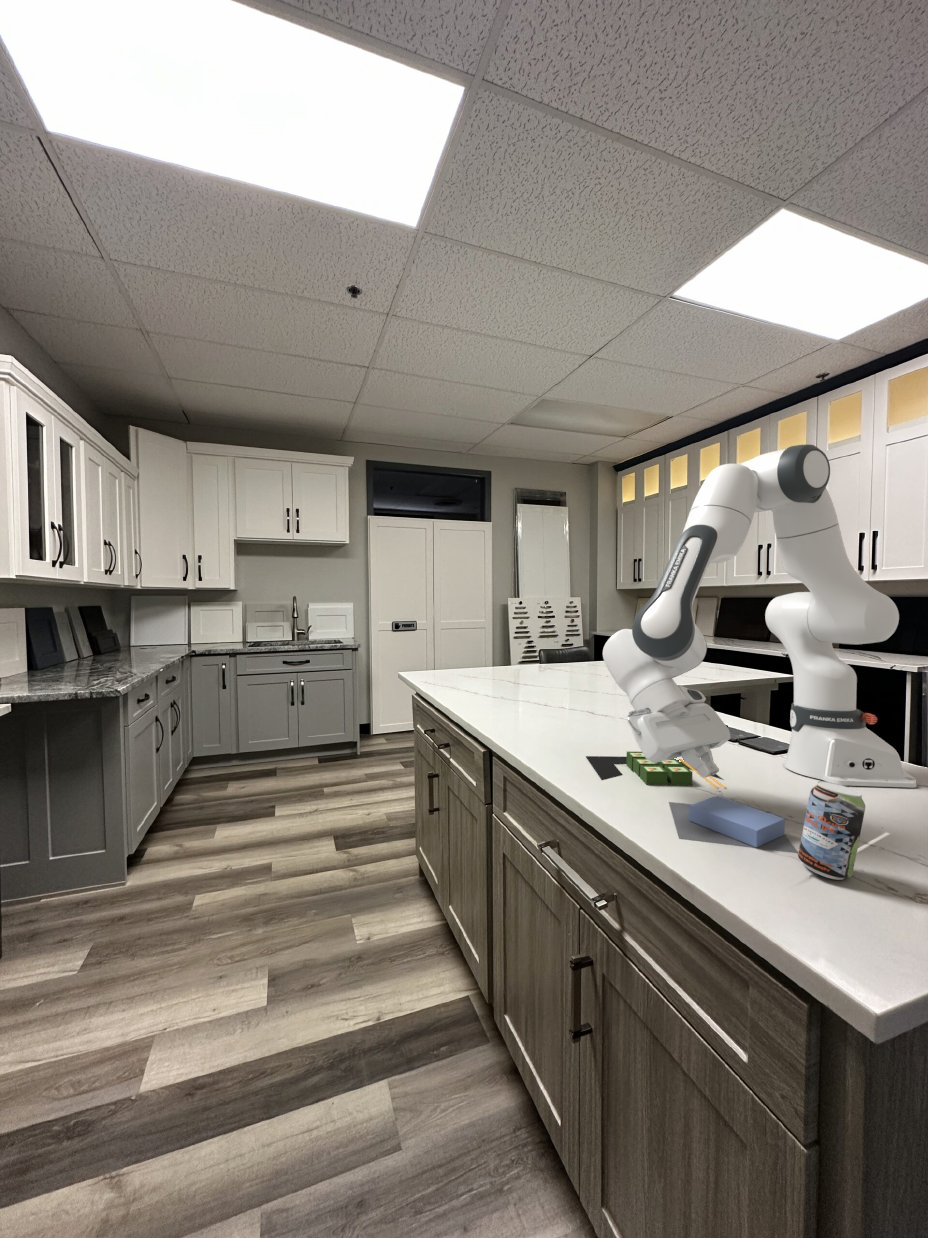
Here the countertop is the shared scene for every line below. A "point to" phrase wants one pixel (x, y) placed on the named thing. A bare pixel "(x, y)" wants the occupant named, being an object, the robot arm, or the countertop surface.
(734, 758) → the countertop surface
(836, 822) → the beverage can
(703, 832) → the rubber mat
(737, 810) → the card deck
